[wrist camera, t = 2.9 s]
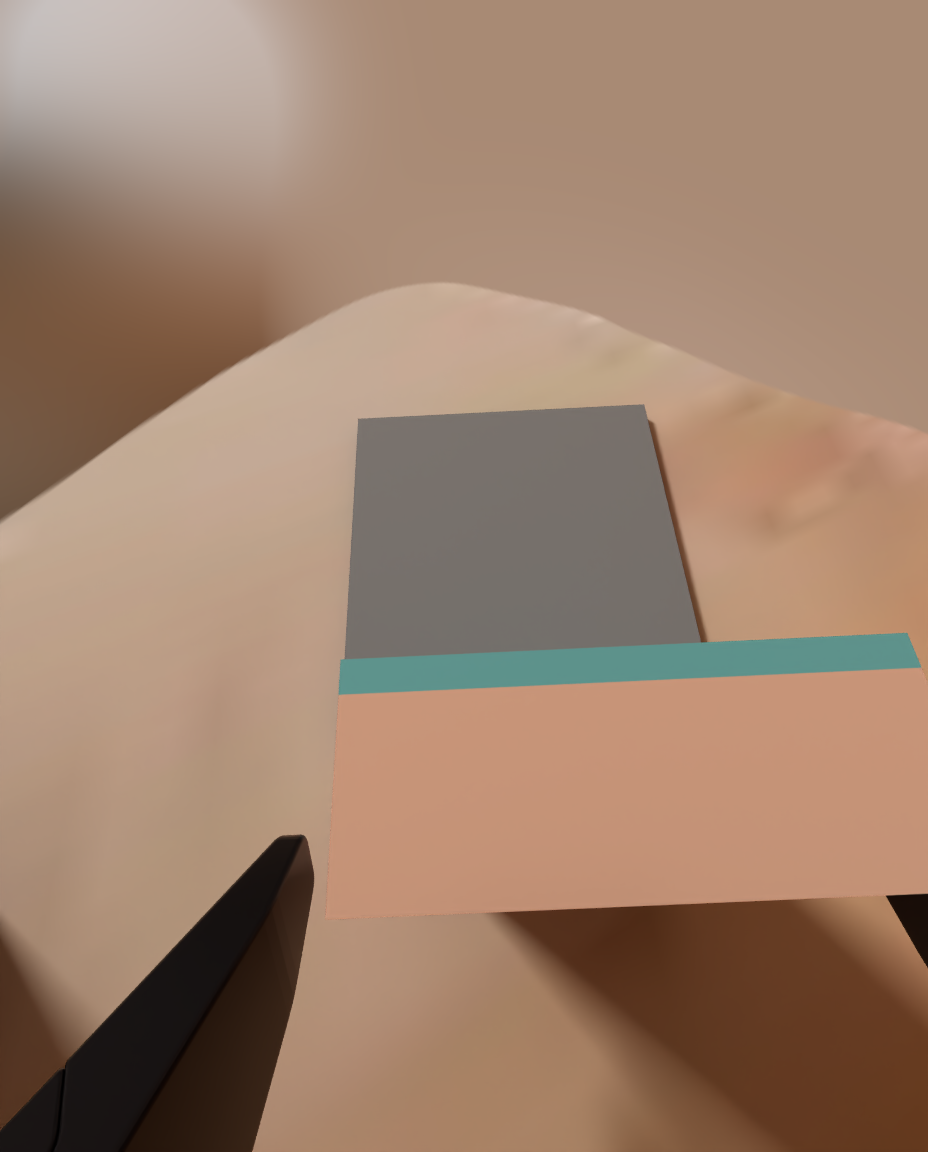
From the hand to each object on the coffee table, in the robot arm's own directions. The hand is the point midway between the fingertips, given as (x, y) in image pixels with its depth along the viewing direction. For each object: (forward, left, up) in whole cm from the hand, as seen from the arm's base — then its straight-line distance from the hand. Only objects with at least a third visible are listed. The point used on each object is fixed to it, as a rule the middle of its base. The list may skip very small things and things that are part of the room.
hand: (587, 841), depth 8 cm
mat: (+7, +6, -8) cm, 13 cm away
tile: (+1, +1, -8) cm, 8 cm away
